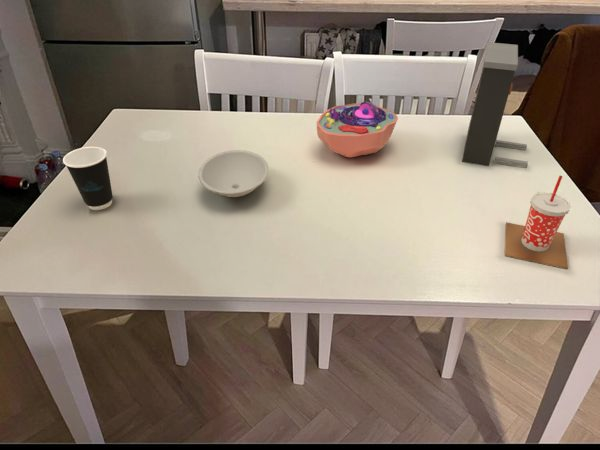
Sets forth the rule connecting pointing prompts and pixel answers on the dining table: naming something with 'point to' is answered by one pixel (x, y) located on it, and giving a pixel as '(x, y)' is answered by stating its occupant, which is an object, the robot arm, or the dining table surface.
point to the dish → (233, 172)
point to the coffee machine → (492, 107)
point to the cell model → (356, 128)
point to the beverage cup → (544, 219)
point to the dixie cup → (90, 175)
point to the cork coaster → (549, 257)
